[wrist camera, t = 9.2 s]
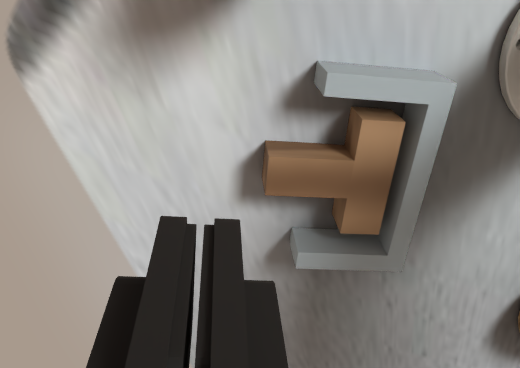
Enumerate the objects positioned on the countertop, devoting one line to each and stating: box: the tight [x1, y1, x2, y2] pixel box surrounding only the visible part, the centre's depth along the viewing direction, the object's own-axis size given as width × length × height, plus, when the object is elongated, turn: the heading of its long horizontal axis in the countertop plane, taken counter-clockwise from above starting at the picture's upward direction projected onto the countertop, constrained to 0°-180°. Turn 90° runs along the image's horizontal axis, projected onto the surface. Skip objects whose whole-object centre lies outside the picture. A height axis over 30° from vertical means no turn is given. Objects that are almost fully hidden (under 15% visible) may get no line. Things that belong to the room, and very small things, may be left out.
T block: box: [262, 106, 406, 235], centre depth 33 cm, size 9×9×3 cm
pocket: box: [290, 61, 457, 272], centre depth 33 cm, size 8×15×4 cm, turn 174°
